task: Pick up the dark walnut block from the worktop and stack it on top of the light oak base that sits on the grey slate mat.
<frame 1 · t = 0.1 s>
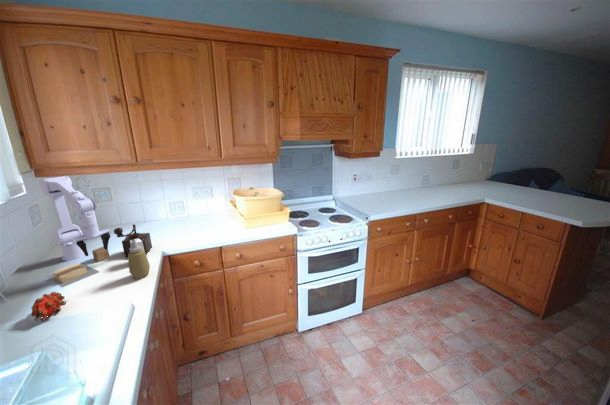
hand: (96, 252, 122), 10 cm above the countertop, fingers open, 7 cm apart
coffee grinder: (136, 254, 141), on the countertop
oak base: (71, 275, 120), point 1 cm above the countertop, touching slate mat
dragon fruit: (51, 314, 96), on the countertop
slate mat: (73, 275, 121), on the countertop
walnut block: (102, 260, 136), on the countertop
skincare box: (140, 262, 132), on the countertop
squeeze bottle: (141, 276, 120), on the countertop
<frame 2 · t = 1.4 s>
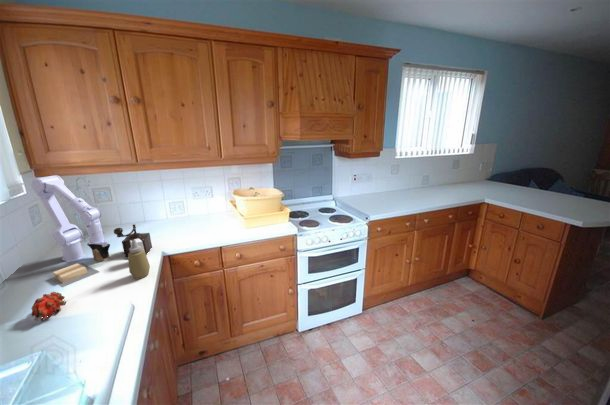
hand: (101, 256, 135), 2 cm above the countertop, fingers open, 7 cm apart
nothing on the countertop moved.
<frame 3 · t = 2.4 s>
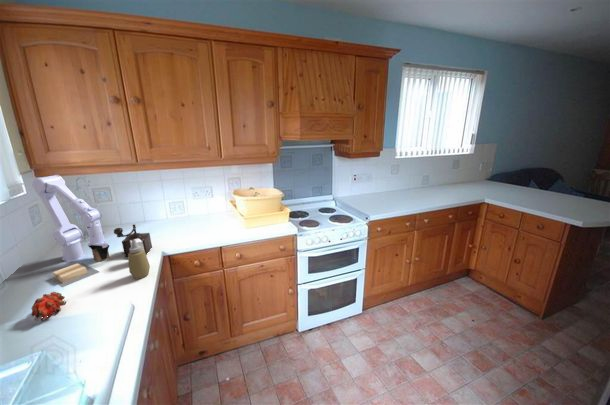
hand: (101, 257, 135), 1 cm above the countertop, fingers closed on walnut block, 5 cm apart
walnut block: (102, 259, 136), on the countertop, touching gripper
everything else where it was.
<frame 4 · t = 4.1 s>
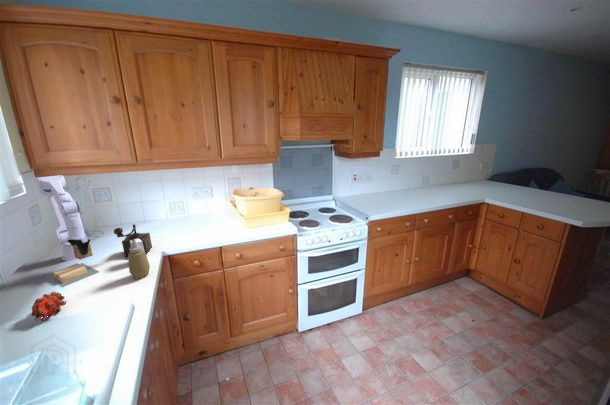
hand: (82, 253, 125), 8 cm above the countertop, fingers closed on walnut block, 5 cm apart
walnut block: (84, 256, 125), point 7 cm above the countertop, touching gripper
everything else where it was.
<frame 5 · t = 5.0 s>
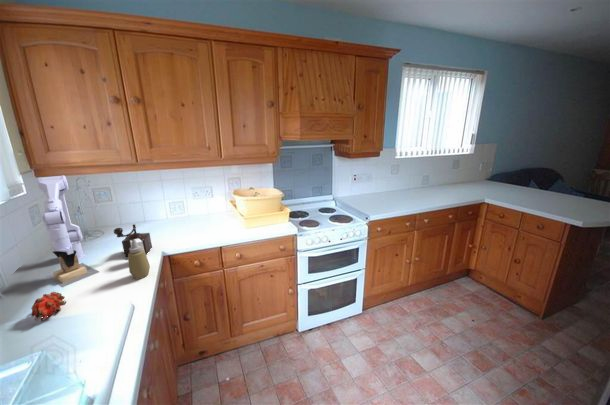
hand: (68, 264, 118), 6 cm above the countertop, fingers closed on walnut block, 5 cm apart
walnut block: (70, 268, 119), point 4 cm above the countertop, touching gripper
everything else where it was.
when the fingers open (6 cm above the countertop, at t = 5.9 s): walnut block stays where it is, resting on oak base.
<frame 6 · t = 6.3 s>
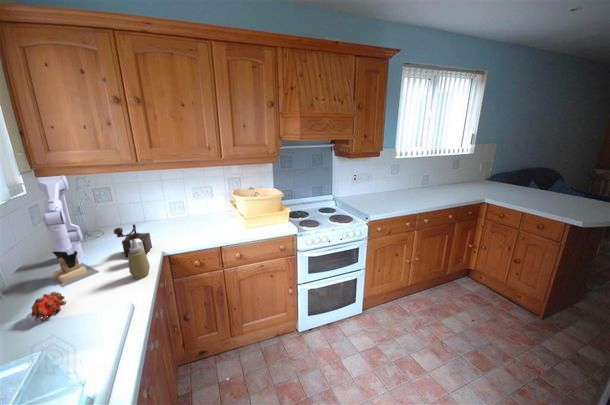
hand: (68, 265, 118), 6 cm above the countertop, fingers open, 7 cm apart
oak base: (71, 275, 120), point 1 cm above the countertop, touching slate mat, walnut block
walnut block: (70, 269, 119), point 4 cm above the countertop, touching oak base
everything else where it was.
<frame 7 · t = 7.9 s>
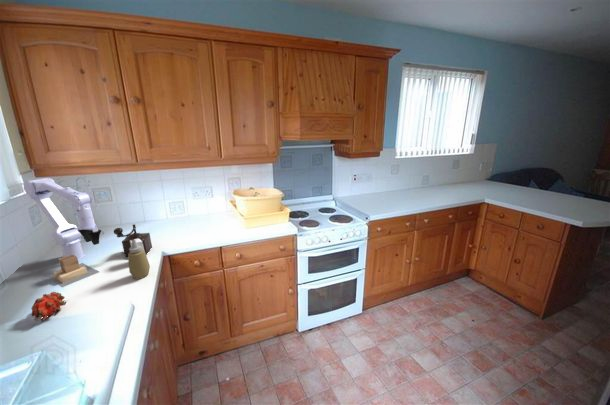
hand: (92, 242, 131), 10 cm above the countertop, fingers open, 7 cm apart
nothing on the countertop moved.
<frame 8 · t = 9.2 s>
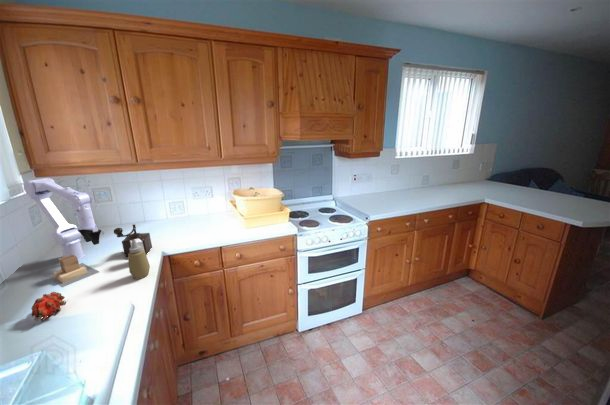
hand: (92, 242, 131), 10 cm above the countertop, fingers open, 7 cm apart
nothing on the countertop moved.
at the end: walnut block 0.4 cm off-centre on the oak base, point 3.0 cm above the oak base's base; walnut block tilted 0°; oak base moved 0.0 cm from its start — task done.
